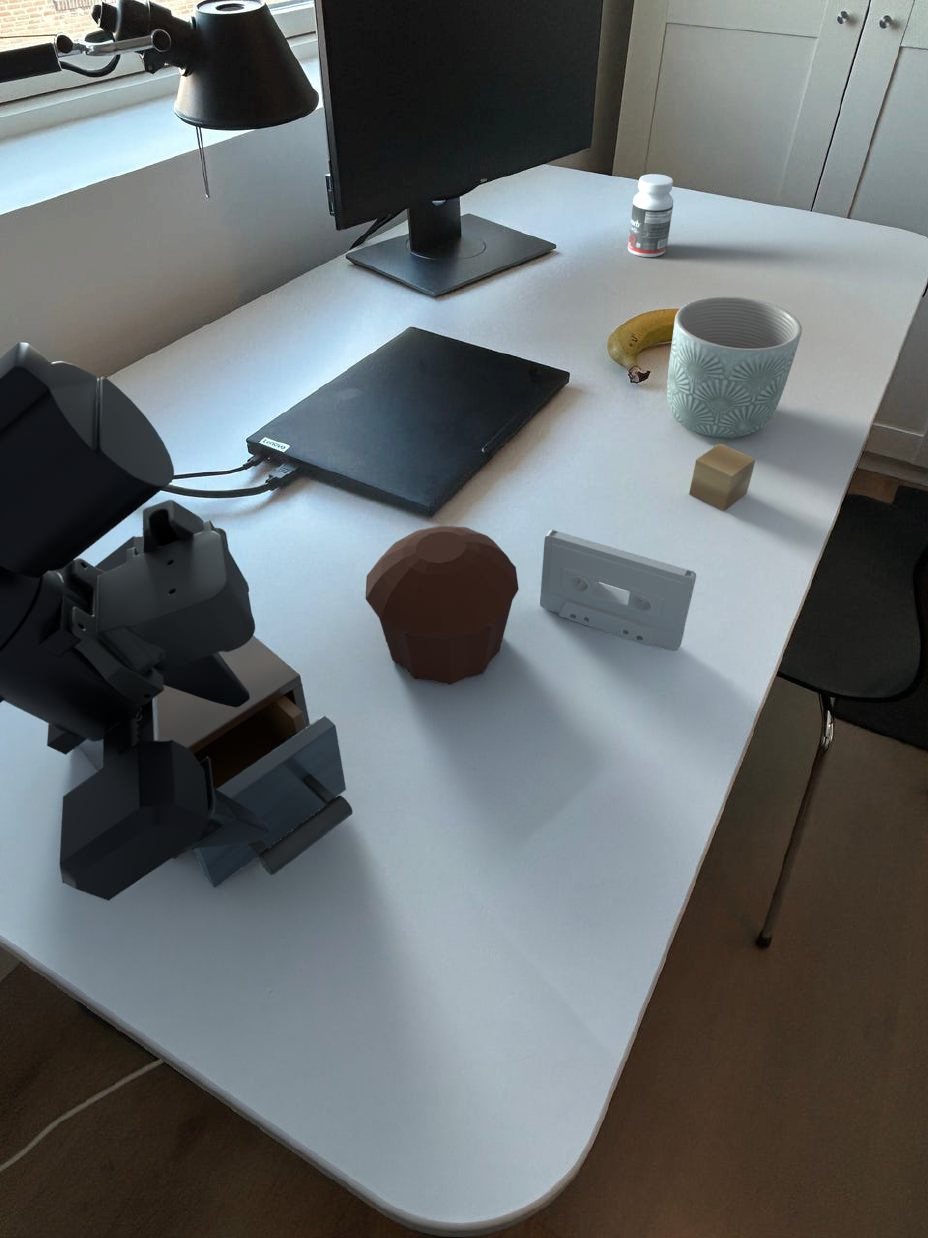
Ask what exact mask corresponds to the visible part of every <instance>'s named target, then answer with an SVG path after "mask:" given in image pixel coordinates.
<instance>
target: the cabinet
mask: <svg viewBox="0 0 928 1238" xmlns="http://www.w3.org/2000/svg"><path fill="white" fill-rule="evenodd" d="M218 653H219V654H220V655H221V656H222V658H223V659H224V660H225V662H226V663H227V664H228V666H229V667H230V668H231V670H232V671H233V672H234V673H235V675H236V676H237V677H238V679H239V680H240V681H241V683H242V684H243V685H244V687H245V688H246V689H247V690H248V692H249V695H250V699H249V700H248V701H247V702H245V703H244V704H243V705H241V706H240V707H231V706H227V705H223V704H219V703H215V702H212V701H209V700H206V699H203V698H200V697H197V696H194V695H191V694H188V693H185V692H182V691H180V690H177V689H174V688H171V687H168V686H165V685H164V691H163V692H161V693H160V694H158V695H157V705H158V726H159V740H169V739H172V740H174V741H175V742H177V743H179V744H181V745H183V746H185V747H186V748H188V749H190V750H191V752H192V753H193V754H194V753H196V752H197V751H199V750H200V749H202V748H203V747H205V746H206V745H208V744H209V743H211V742H212V741H214V740H215V739H217V738H219V737H220V736H222V735H223V734H225V733H226V732H228V731H229V730H231V729H232V728H234V727H235V726H237V725H238V724H240V723H242V722H243V721H245V720H246V719H248V718H249V717H251V716H252V715H254V714H255V713H257V712H258V711H260V710H261V709H263V708H265V707H266V706H268V705H269V704H271V703H272V702H274V701H275V700H277V699H278V698H280V697H281V696H283V695H285V696H286V697H287V698H288V699H289V700H290V701H291V702H292V703H294V704H295V705H296V706H297V707H298V708H299V709H300V710H301V711H303V716H304V721H305V725H306V727H308V726H309V725H311V722H310V717H309V712H308V707H307V701H306V697H305V692H304V686H303V683H302V678H301V674H299V673H298V672H297V671H296V670H294V669H293V667H292V666H291V665H289V664H288V663H287V662H285V661H284V660H283V659H282V658H281V657H280V656H278V655H277V654H276V653H275V652H273V651H272V649H270V648H269V647H268V646H267V645H265V644H264V643H263V642H262V641H261V640H260V639H259V638H257V637H256V636H255V635H253V636H252V638H251V639H250V640H249V641H248V642H247V643H246V644H245V645H243V646H242V647H240V648H238V649H235V650H233V651H230V652H224V651H220V652H218ZM76 748H78V750H79V751H80V752H81V753H83V755H84V757H86V759H87V760H88V761H89V762H90V763H91V764H92V765H93V768H95V769H96V771H97V772H98V771H99V770H100V769H102V768H103V740H100V741H96V742H92V741H90V740H88V739H87V740H85V741H84V742H82V743H81V744H80V745H78V746H77V747H76ZM186 851H187V850H183V851H181V852H180V853H178V854H177V855H175V856H174V857H172V858H171V859H172V860H175V859H177V858H178V857H179V856H181V855H182V854H184V853H185V852H186Z"/></svg>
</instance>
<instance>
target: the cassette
mask: <svg viewBox="0 0 928 1238" xmlns="http://www.w3.org/2000/svg"><path fill="white" fill-rule="evenodd" d="M696 580H697V573H696V572H695V571H694V570H690V569H687V568H684V567H680V566H677V565H673V564H670V563H666V562H664V561H660V560H656V559H654V558H649V557H647V556H643V555H639V554H636V553H633V552H630V551H625V550H623V549H619V548H616V547H613V546H609V545H606V544H603V543H599V542H595V541H592V540H588V539H585V538H582V537H578V536H576V535H571V534H568V533H565V532H561V531H558V530H555V529H550V530H549V531H548V532H547V534H546V535H545V537H544V540H543V556H542V569H541V583H540V597H539V605H540V607H541V608H543V609H545V610H547V611H551V612H554V613H557V614H558V617H560V618H563V619H566V620H570V621H573V622H576V623H579V624H582V625H585V626H587V627H591V628H593V629H596V630H600V631H603V632H606V633H609V634H611V635H614V636H618V637H621V638H624V639H627V640H629V641H633V642H636V643H639V644H643V645H645V646H648V647H651V648H654V647H655V646H658V647H660V648H663V649H667V650H668V651H669V650H670V651H672V652H676V651H678V650H679V648H681V645H682V642H683V639H684V638H683V637H684V633H685V628H686V623H687V619H688V614H689V610H690V606H691V602H692V597H693V593H694V588H695V584H696Z"/></svg>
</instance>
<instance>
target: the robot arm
mask: <svg viewBox="0 0 928 1238" xmlns="http://www.w3.org/2000/svg"><path fill="white" fill-rule="evenodd" d="M174 468H175V467H174V464H173V461H172V457H171V455H170V452H169V451H168V448H167V446H166V445H165V442H164V441H163V439H162V437H161V436H160V434H159V432H158V431H157V430H156V428H155V427H154V425H153V424H152V423H151V422H150V421H149V418H147V416H146V415H145V414H144V412H142V410H140V408H139V407H138V406H137V405H136V404H135V403H134V402H133V400H132V399H130V398H129V396H128V395H126V394H125V393H124V392H123V391H122V390H121V389H120V388H119V387H118V386H117V385H116V384H114V383H113V382H112V381H111V380H110V379H108V378H107V377H105V376H101V377H100V378H99V377H98V376H96V375H94V374H93V373H92V372H90V371H88V370H87V369H85V368H83V367H80V366H78V365H76V364H74V363H71V362H68V361H63V360H59V361H52V362H51V361H50V360H49V359H47V358H46V357H45V356H44V355H43V354H42V353H40V352H39V351H38V350H36V349H35V348H34V347H33V346H32V345H30V344H29V343H28V342H17V343H16V344H15V345H14V346H13V347H12V348H11V349H9V350H8V351H7V352H6V353H5V354H4V355H3V356H2V357H0V704H1V703H2V702H5V703H7V704H9V705H12V706H13V707H15V708H17V709H19V710H21V711H22V712H25V713H27V714H29V715H31V716H33V717H35V718H37V719H39V720H41V721H43V722H45V723H47V724H48V725H47V739H46V740H47V741H46V746H47V747H49V748H51V749H53V750H55V751H57V752H59V753H61V754H63V755H68V754H69V753H71V752H72V751H73V750H74V749H76V748H78V747H77V746H78V745H80V744H81V743H82V742H84V741H85V740H87V739H88V740H90V741H92V742H96V741H100V740H103V768H102V769H100V770H99V771H98V770H97V771H96V772H94V773H93V774H92V775H90V776H89V777H88V778H86V779H84V781H82V782H81V783H79V784H78V785H77V786H75V787H74V788H73V789H71V790H70V791H69V792H67V793H65V794H64V795H63V796H62V809H61V812H62V813H61V828H60V829H61V830H60V844H59V845H60V847H59V848H60V849H59V870H60V876H61V882H62V884H65V885H67V886H68V887H71V888H73V889H74V890H77V891H79V892H83V893H85V894H88V895H91V896H94V897H97V898H100V899H102V900H105V901H111V900H112V899H113V898H115V897H116V896H118V895H120V894H121V893H122V892H124V891H126V890H127V889H128V888H130V887H131V886H132V885H134V884H136V883H137V882H139V881H140V880H141V879H143V878H145V877H146V876H147V875H149V874H150V873H152V872H153V871H155V870H156V869H157V868H159V867H161V866H162V865H164V864H165V863H167V862H168V861H170V860H171V859H172V857H174V856H175V855H177V854H178V853H180V852H181V851H183V850H186V851H189V850H194V849H198V848H207V847H216V846H226V845H235V844H244V843H253V842H257V841H258V840H260V839H261V838H263V837H264V836H266V835H267V834H269V832H270V829H269V825H268V824H267V823H266V822H264V821H263V820H262V819H261V818H260V817H258V816H257V815H256V814H254V813H253V812H252V811H250V810H248V809H247V808H245V807H244V806H242V805H241V804H239V803H237V802H236V801H234V800H233V799H231V798H230V797H228V796H226V795H225V794H223V793H222V792H220V791H218V790H217V789H215V788H214V787H213V780H212V770H211V760H210V758H209V757H206V758H205V759H204V760H202V761H201V762H198V760H197V759H196V757H195V756H194V755H193V753H192V752H191V750H190V749H188V748H186V747H185V746H183V745H181V744H179V743H177V742H175V741H174V740H172V739H169V740H159V726H158V705H157V695H158V694H160V693H161V692H163V691H164V685H165V686H168V687H171V688H174V689H177V690H180V691H182V692H185V693H188V694H191V695H194V696H197V697H200V698H203V699H206V700H209V701H212V702H215V703H219V704H223V705H227V706H231V707H240V706H241V705H243V704H244V703H245V702H247V701H248V700H249V699H250V695H249V692H248V690H247V689H246V688H245V687H244V685H243V684H242V683H241V681H240V680H239V679H238V677H237V676H236V675H235V673H234V672H233V671H232V670H231V668H230V667H229V666H228V664H227V663H226V662H225V660H224V659H223V658H222V656H221V655H220V654H219V653H218V652H220V651H224V652H230V651H233V650H235V649H238V648H240V647H242V646H243V645H245V644H246V643H247V642H248V641H249V640H250V639H251V638H252V636H253V635H254V634H255V632H256V623H255V618H254V616H253V612H252V606H251V600H250V594H249V592H250V587H249V586H250V585H249V584H248V581H247V580H246V578H245V576H244V575H243V573H242V571H241V569H240V567H239V565H238V564H237V562H236V560H235V558H234V557H233V554H231V551H230V548H229V543H228V536H227V532H226V531H225V530H224V529H223V528H221V527H216V526H215V525H213V522H212V521H211V520H210V519H208V520H206V521H204V520H203V519H202V518H201V517H200V516H198V514H196V513H194V512H192V511H190V510H189V509H188V508H186V507H185V506H183V505H181V504H180V503H178V502H177V501H175V500H173V499H167V500H164V501H162V502H158V503H156V504H154V505H150V506H148V507H145V508H143V510H142V535H133V536H131V537H130V538H129V539H128V540H126V541H125V542H124V543H123V544H121V545H120V546H118V548H116V549H114V551H112V552H110V554H108V555H107V556H105V558H104V559H102V560H101V561H100V562H99V563H97V564H96V565H94V566H93V565H92V564H91V563H89V562H88V561H87V560H85V559H83V558H82V557H79V556H81V555H82V554H83V553H84V552H85V551H87V550H88V549H90V547H92V546H93V545H94V544H96V543H97V542H98V541H100V540H101V539H102V538H103V537H104V536H105V535H107V534H108V533H109V532H111V531H112V530H113V529H115V528H116V527H117V526H118V525H119V524H121V523H122V522H123V521H125V519H127V518H128V517H129V516H131V515H132V514H134V513H135V512H136V511H137V510H138V509H139V508H141V507H142V506H143V505H145V504H146V503H147V502H148V501H150V500H151V499H152V498H153V497H155V496H156V495H157V494H158V493H160V492H161V491H162V490H163V489H164V488H166V487H167V486H168V485H170V484H171V483H172V482H173V480H174V476H175V469H174ZM254 636H255V635H254Z"/></svg>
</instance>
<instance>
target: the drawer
mask: <svg viewBox="0 0 928 1238" xmlns="http://www.w3.org/2000/svg"><path fill="white" fill-rule="evenodd" d="M193 755H194V756H195V757H196V759H197V760H198V762H201V761H202V760H204V759H205V758H206V757H209V758H210V760H211V770H212V780H213V787H214V788H215V789H217V790H218V791H220V792H222V793H223V794H225V795H226V796H228V797H230V798H231V799H233V800H234V801H236V802H237V803H239V804H241V805H242V806H244V807H245V808H247V809H248V810H250V811H252V812H253V813H254V814H256V815H257V816H258V817H260V818H261V819H262V820H263V821H264V822H266V823H267V824H268V825H269V829H270V832H269V834H267V835H266V836H264V837H263V838H261V839H260V840H258V841H257V842H253V843H244V844H235V845H226V846H216V847H207V848H198V849H193V850H194V854H195V856H196V858H197V861H198V863H199V865H200V869H201V871H202V874H203V875H204V877H205V879H206V880H207V881H208V882H209V884H210V885H211V886H212V887H213V888H215V889H216V888H218V887H219V886H220V885H222V884H223V883H224V882H226V881H227V880H228V879H230V878H231V877H232V876H234V875H235V874H236V873H238V872H239V871H240V870H241V869H243V868H244V867H246V866H247V865H249V863H251V862H252V861H253V860H255V859H256V858H258V861H259V863H260V865H261V866H262V868H263V869H264V870H265V871H266V873H267V874H268V875H270V876H274V875H276V874H277V873H279V872H280V871H281V870H282V869H284V868H285V867H286V866H287V865H288V864H290V863H291V862H292V861H294V860H295V859H296V858H298V857H299V856H300V855H301V854H303V853H304V852H305V851H306V850H308V849H309V848H311V847H312V846H313V845H314V844H316V843H317V842H318V841H320V840H321V839H322V838H323V837H325V836H326V835H327V834H328V833H330V832H331V831H332V830H334V829H335V828H336V827H338V826H339V825H341V823H343V822H344V821H345V820H346V819H348V818H349V817H350V816H352V815H353V813H354V812H353V808H352V806H351V804H350V803H349V801H348V800H347V799H346V798H345V797H343V795H341V794H342V793H344V792H345V791H346V790H347V786H346V785H347V784H346V780H345V774H344V768H343V762H342V756H341V750H340V744H339V737H338V732H337V726H336V724H335V723H334V722H333V721H332V720H330V719H329V718H328V717H327V716H326V715H322V716H321V717H319V718H318V719H316V720H315V721H313V722H312V723H310V725H309V726H308V727H306V725H305V721H304V716H303V711H301V710H300V709H299V708H298V707H297V706H296V705H295V704H294V703H292V702H291V701H290V700H289V699H288V698H287V697H286V696H285V695H283V696H281V697H280V698H278V699H277V700H275V701H274V702H272V703H271V704H269V705H268V706H266V707H265V708H263V709H261V710H260V711H258V712H257V713H255V714H254V715H252V716H251V717H249V718H248V719H246V720H245V721H243V722H242V723H240V724H238V725H237V726H235V727H234V728H232V729H231V730H229V731H228V732H226V733H225V734H223V735H222V736H220V737H219V738H217V739H215V740H214V741H212V742H211V743H209V744H208V745H206V746H205V747H203V748H202V749H200V750H199V751H197V752H196V753H194V754H193Z"/></svg>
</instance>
